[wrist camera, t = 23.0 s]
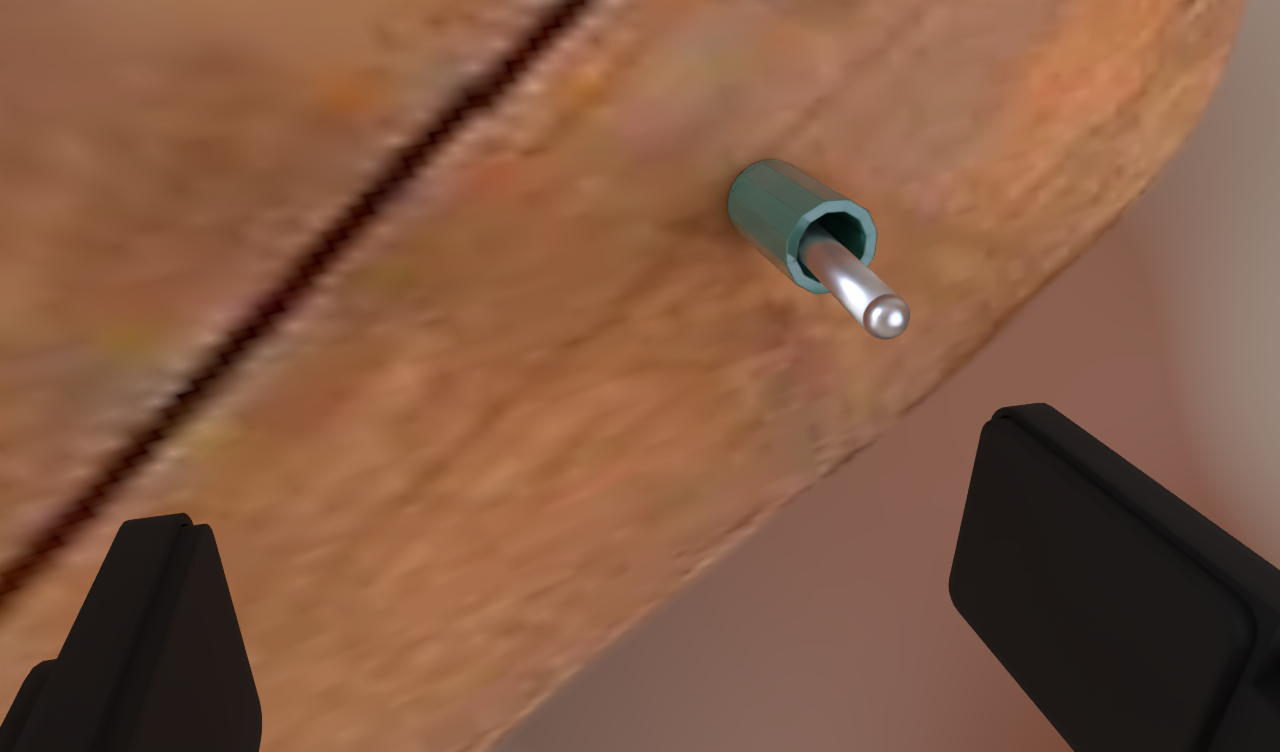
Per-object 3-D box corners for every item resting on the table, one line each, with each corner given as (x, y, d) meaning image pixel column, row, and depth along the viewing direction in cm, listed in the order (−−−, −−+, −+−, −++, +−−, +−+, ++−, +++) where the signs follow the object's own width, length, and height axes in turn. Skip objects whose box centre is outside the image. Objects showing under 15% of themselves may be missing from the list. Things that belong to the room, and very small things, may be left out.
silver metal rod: (752, 220, 39) (868, 348, 27) (755, 187, 38) (874, 303, 26) (784, 219, 39) (914, 345, 27) (787, 186, 39) (921, 301, 26)
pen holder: (725, 243, 40) (782, 297, 34) (729, 161, 38) (790, 203, 32) (801, 237, 41) (870, 289, 34) (808, 157, 39) (883, 197, 33)
